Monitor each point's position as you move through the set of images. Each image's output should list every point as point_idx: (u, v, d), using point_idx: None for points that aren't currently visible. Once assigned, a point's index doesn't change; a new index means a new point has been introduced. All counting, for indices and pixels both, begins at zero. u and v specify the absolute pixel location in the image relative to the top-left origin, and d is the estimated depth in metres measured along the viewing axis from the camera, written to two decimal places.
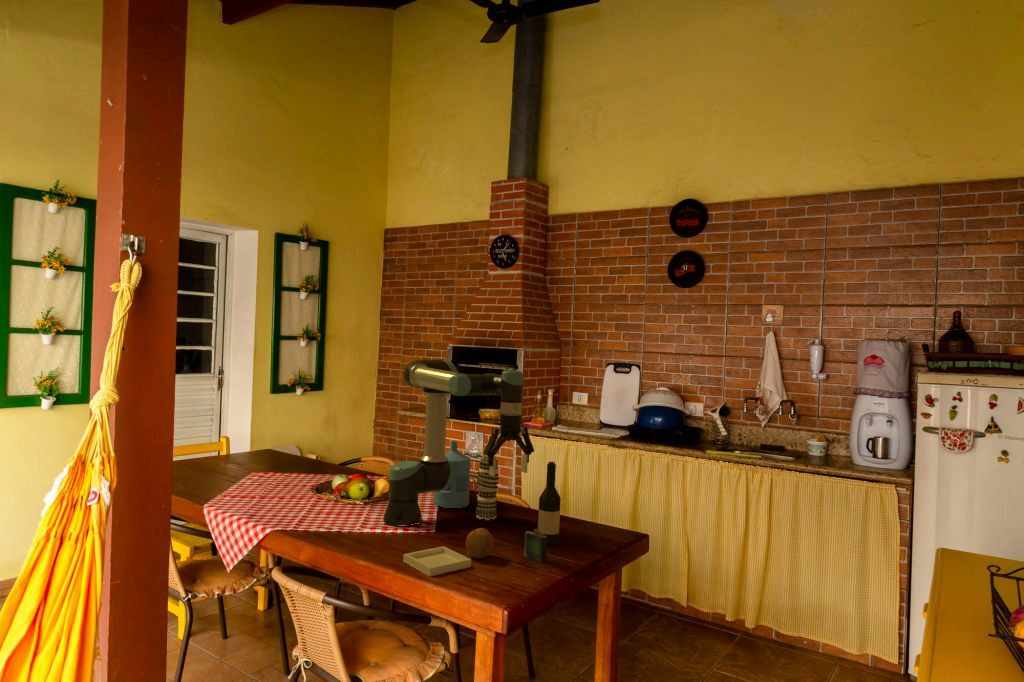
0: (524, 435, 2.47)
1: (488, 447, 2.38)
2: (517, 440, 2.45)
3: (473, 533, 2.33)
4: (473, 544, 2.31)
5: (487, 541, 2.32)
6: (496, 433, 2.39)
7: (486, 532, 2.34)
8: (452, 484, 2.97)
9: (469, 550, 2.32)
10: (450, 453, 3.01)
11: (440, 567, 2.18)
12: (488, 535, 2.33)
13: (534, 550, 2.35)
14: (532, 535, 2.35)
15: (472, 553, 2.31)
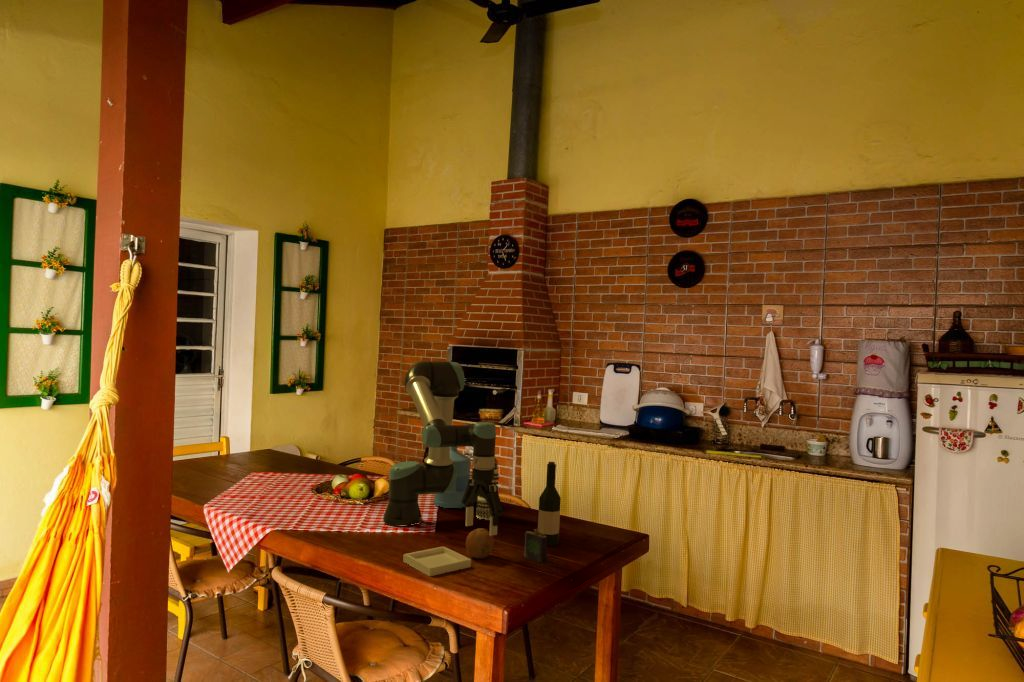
0: None
1: None
2: None
3: (473, 533, 2.33)
4: (473, 544, 2.31)
5: (487, 541, 2.32)
6: (468, 483, 2.39)
7: (486, 532, 2.34)
8: None
9: (469, 550, 2.32)
10: (450, 453, 3.01)
11: (440, 567, 2.18)
12: (488, 535, 2.33)
13: (534, 550, 2.35)
14: (532, 535, 2.35)
15: (472, 553, 2.31)
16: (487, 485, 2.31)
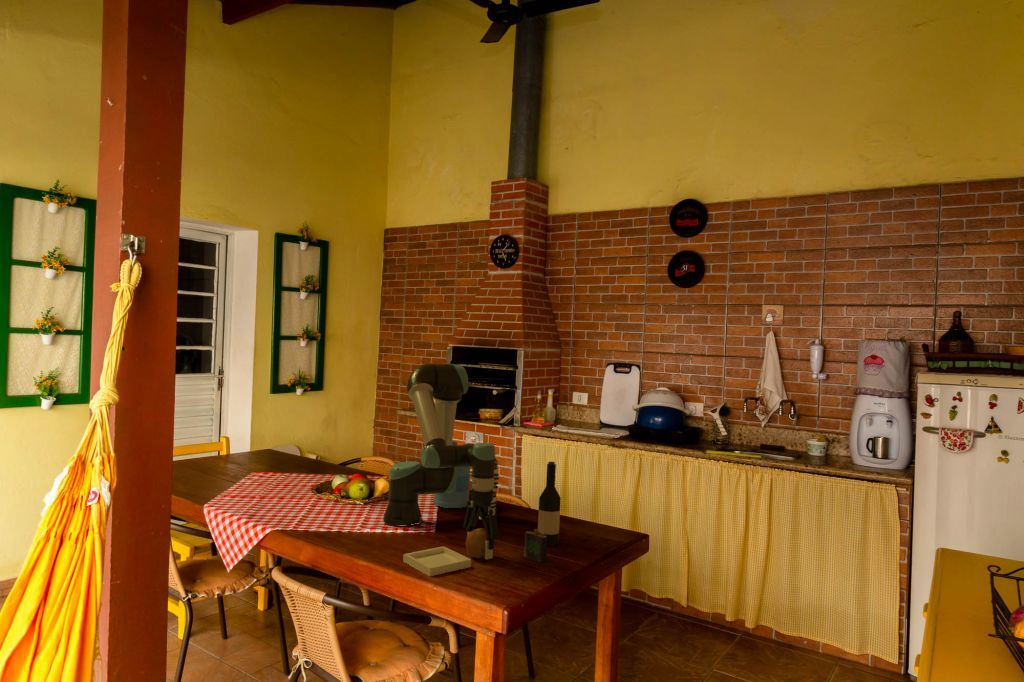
0: None
1: None
2: None
3: (473, 533, 2.33)
4: (473, 544, 2.31)
5: None
6: (467, 506, 2.39)
7: None
8: None
9: (469, 550, 2.32)
10: None
11: (440, 567, 2.18)
12: None
13: (534, 550, 2.35)
14: (532, 535, 2.35)
15: (472, 553, 2.31)
16: (486, 507, 2.31)
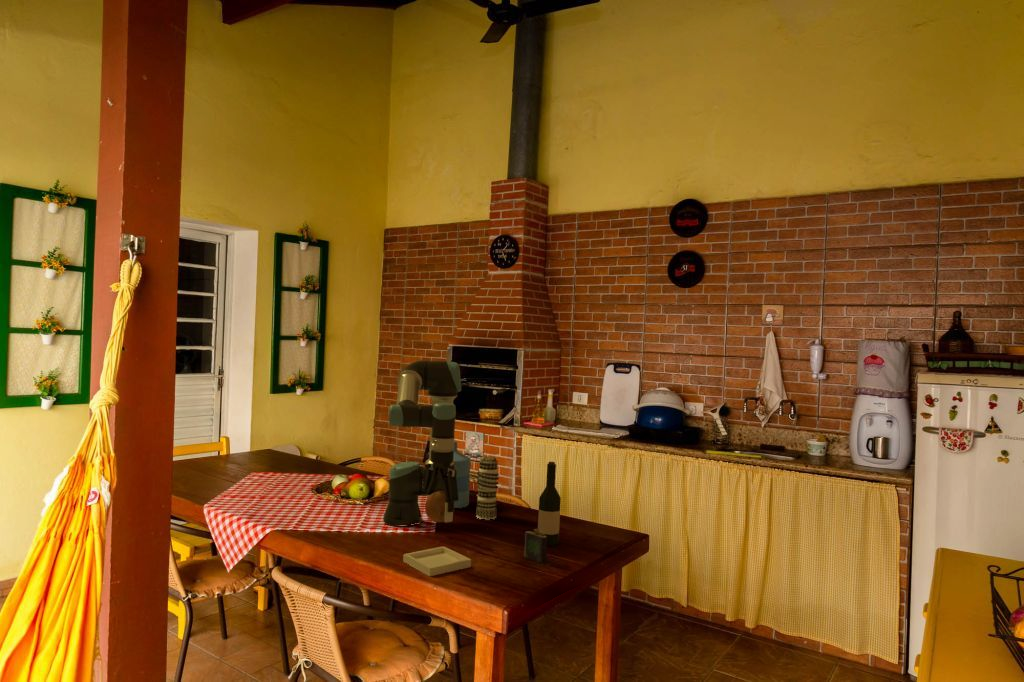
0: None
1: None
2: None
3: (432, 496, 2.24)
4: (432, 506, 2.22)
5: None
6: (427, 468, 2.30)
7: None
8: None
9: (428, 513, 2.23)
10: None
11: (440, 567, 2.18)
12: None
13: (534, 550, 2.35)
14: (532, 535, 2.35)
15: (431, 516, 2.23)
16: (446, 468, 2.23)
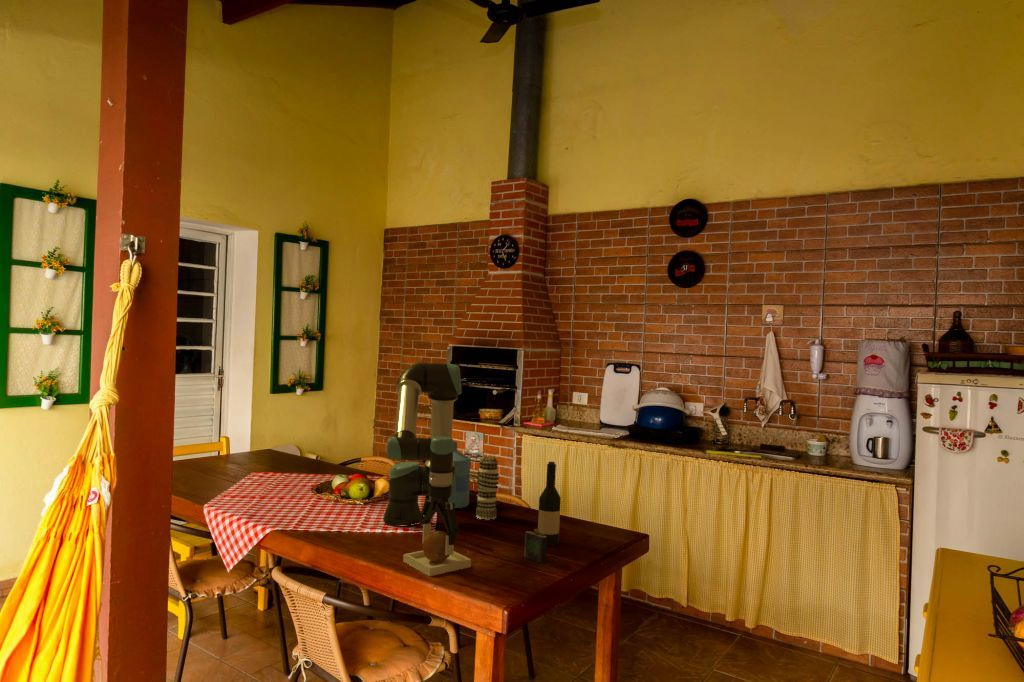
0: None
1: None
2: None
3: (430, 536, 2.24)
4: (429, 547, 2.22)
5: (444, 544, 2.23)
6: (425, 499, 2.30)
7: (444, 535, 2.25)
8: None
9: (426, 553, 2.23)
10: None
11: (440, 567, 2.18)
12: None
13: (534, 550, 2.35)
14: (532, 535, 2.35)
15: (429, 556, 2.23)
16: (443, 502, 2.23)
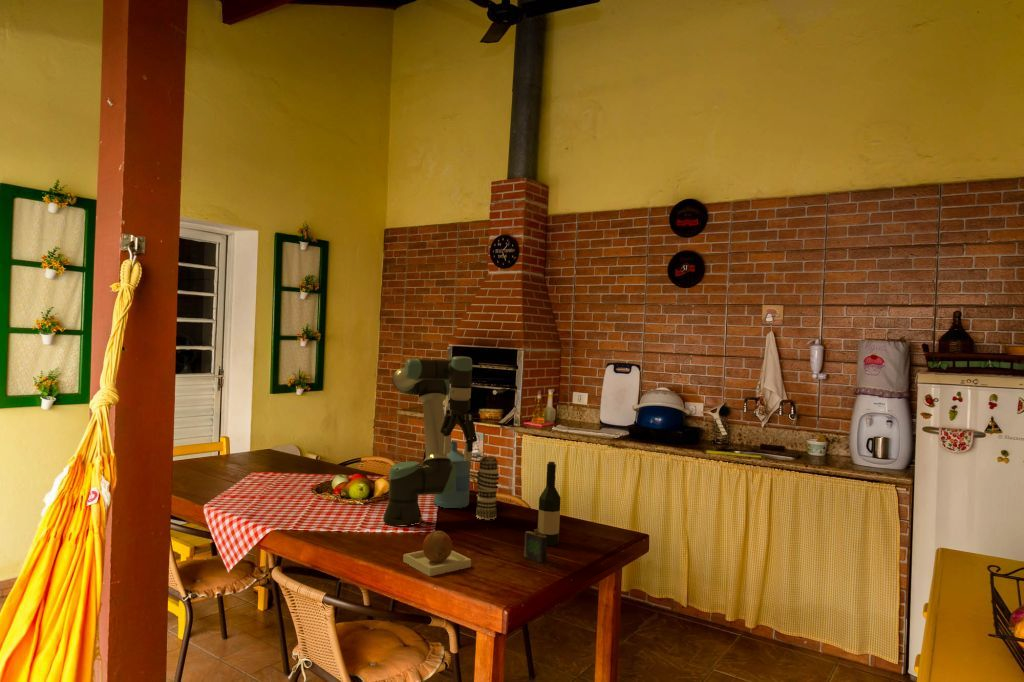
0: None
1: None
2: None
3: (430, 536, 2.24)
4: (429, 547, 2.22)
5: (444, 544, 2.23)
6: (446, 414, 2.55)
7: (444, 535, 2.25)
8: None
9: (426, 553, 2.23)
10: (450, 453, 3.01)
11: (440, 567, 2.18)
12: (446, 538, 2.24)
13: (534, 550, 2.35)
14: (532, 535, 2.35)
15: (429, 556, 2.23)
16: (463, 414, 2.47)
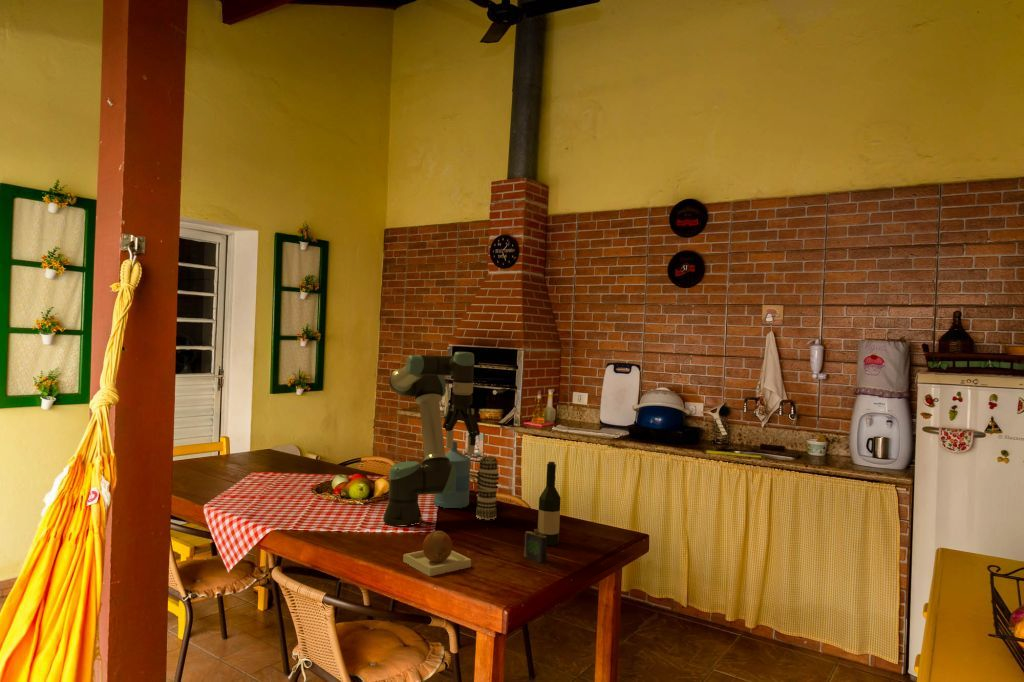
0: None
1: None
2: None
3: (430, 536, 2.24)
4: (429, 547, 2.22)
5: (444, 544, 2.23)
6: (448, 409, 2.58)
7: (444, 535, 2.25)
8: None
9: (426, 553, 2.23)
10: (450, 453, 3.01)
11: (440, 567, 2.18)
12: (446, 538, 2.24)
13: (534, 550, 2.35)
14: (532, 535, 2.35)
15: (429, 556, 2.23)
16: (465, 409, 2.50)
